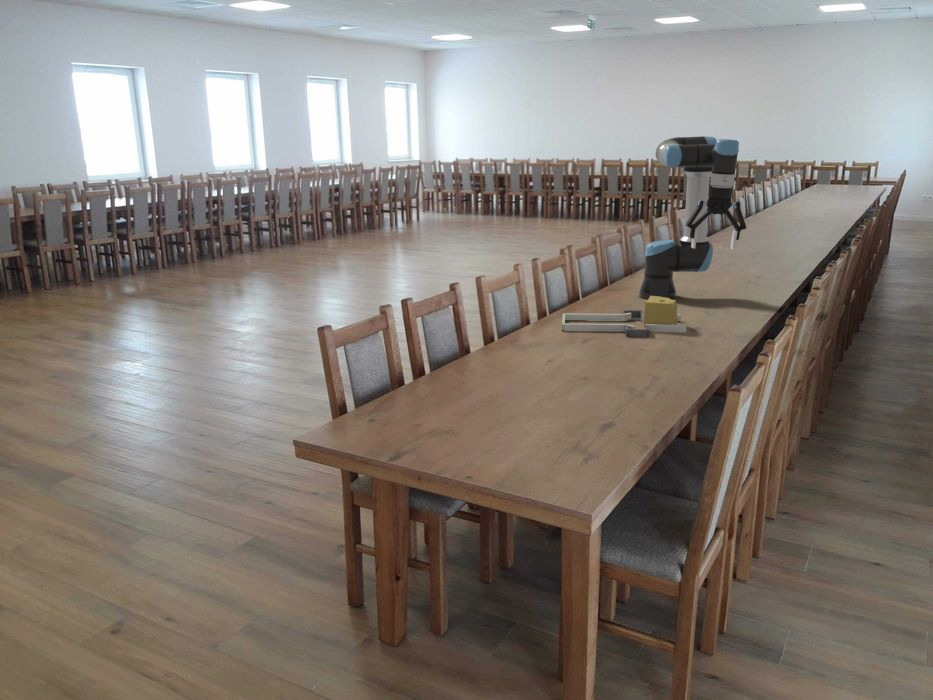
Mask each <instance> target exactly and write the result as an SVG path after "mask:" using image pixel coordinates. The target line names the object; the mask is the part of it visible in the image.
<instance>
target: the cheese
mask: <svg viewBox="0 0 933 700" xmlns="http://www.w3.org/2000/svg"><path fill="white" fill-rule="evenodd" d="M643 312H644V321H643V329H645V324H666V325H678V322H677V321H678V315H677V314H678V313H677V312H678V303H677V300H676V299H670V298H665V297H659V296H650V297H649V299H646V301H645V303H644V311H643Z"/></svg>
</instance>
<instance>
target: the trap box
mask: <svg viewBox="0 0 933 700" xmlns="http://www.w3.org/2000/svg"><path fill="white" fill-rule="evenodd" d="M644 312H645V311H644V309H621V311H620V313H562V318H561V331H562V330H564V331H563V332H618V333H619V332H620V333H622V332H623V333H624V335H625V337H630V338H631V337H632V338H635V337H636V338H639V337H640V338H641V337H642V338H650V334H651V333H687V324H676V325H666V324H645V328H636V326H635V325H632V324H627V323H566V321H565V320H587V321H586V322H626V321H627V322H628V321H629V322H630V321H632V322H639V321H641V322H644ZM677 315H678V321H680V322H681V316H682V315H681V313H680V314H678V313H677Z"/></svg>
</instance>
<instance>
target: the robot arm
mask: <svg viewBox="0 0 933 700" xmlns="http://www.w3.org/2000/svg"><path fill="white" fill-rule="evenodd" d="M739 144H740V142H739V140H737V139H727V138H718V139H716V138H715V137H713V136H705V135H703V136H702V135H701V136H683V137H682V136H678V137H677V136H676V137H671V138H668V139H665V140H664V141H663V140H662V142H661V143H659V144H658V145H657V147H656V150H655V158H656V160H657V161H658V163H659V164H661V165H662V166H665V167H666V168H683V173H684V174H685V175H686V177H687V178H686V191H685V192H686V194H685V212H684V214H685V215H684V226H683V227H684V229H683V236H682V237H680V238H679V243H676V242H675V241H674V240H672V239H663V240H654V241H651V242H649V243H647V244H646V246H645V250H644V277H643V280H642V284H641V286H640V289H639V291H638V296H639V298H641V297H642V299H646V300H648V299H649V297H650V296H659V297H665V298H670V299H671V300H674V299H676V298H677V290H676V286H675V282H674V275H673V274H674V273H682V272H683V273H688V272H689V273H701V272H706V271H708V270H709V268H710V266H711V263H712V259H713V253H714V252H713V251H714V250H713V249H714V246H713V244H712V243H710V239H709V237H707V220H708V219H707V218H708V217H709V216H711V215H712V214H713V215H725V216H726V218H727V219H728V221H729V222H730V223H731V225H732V226H733V228H734V229H732V233H731V240H730V245H729V249H730V250H733V251H735V250H736V243H737V241H739V240H740V235H741V231H743V230H746V229H747V224H746V222H745V219H744V216H743V213H742V211H741V202H740V201H738V200H735V201H733V202H732V197H733V196H732V195H733V191H734V190H733V188H732V187H733V186H734V183H735V176H736V175H735V174H736V169H737V168H736V167H737V162H738V154H739V151H740V149H739V147H740V145H739ZM731 207H732V208H733V209H734V211H735V215H736V217H737V220H738V222H737V221H736V219H735V218H734V216H733V215H732V213H731V211H730V210H729V209H731Z"/></svg>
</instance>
